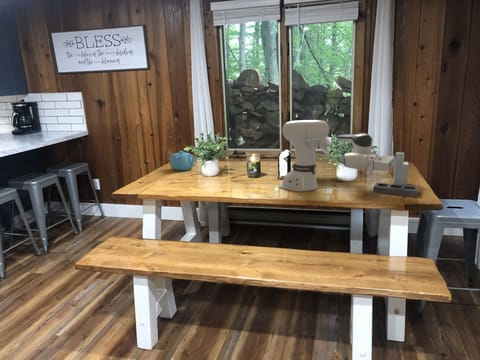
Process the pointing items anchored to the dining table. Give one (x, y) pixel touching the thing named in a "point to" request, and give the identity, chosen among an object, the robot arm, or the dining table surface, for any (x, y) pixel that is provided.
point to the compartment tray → (396, 189)
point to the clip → (399, 170)
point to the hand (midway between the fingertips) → (401, 163)
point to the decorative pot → (181, 161)
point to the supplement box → (405, 175)
